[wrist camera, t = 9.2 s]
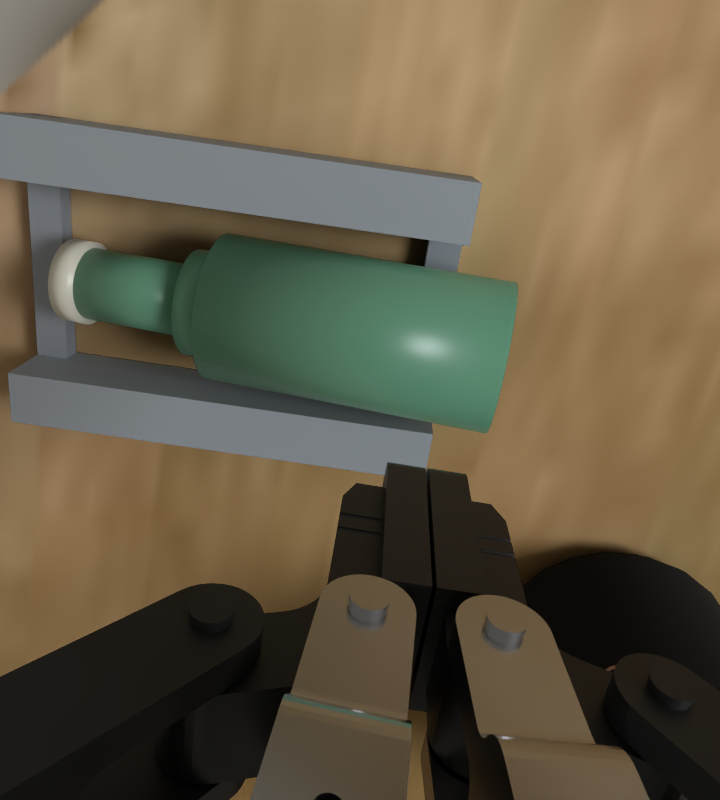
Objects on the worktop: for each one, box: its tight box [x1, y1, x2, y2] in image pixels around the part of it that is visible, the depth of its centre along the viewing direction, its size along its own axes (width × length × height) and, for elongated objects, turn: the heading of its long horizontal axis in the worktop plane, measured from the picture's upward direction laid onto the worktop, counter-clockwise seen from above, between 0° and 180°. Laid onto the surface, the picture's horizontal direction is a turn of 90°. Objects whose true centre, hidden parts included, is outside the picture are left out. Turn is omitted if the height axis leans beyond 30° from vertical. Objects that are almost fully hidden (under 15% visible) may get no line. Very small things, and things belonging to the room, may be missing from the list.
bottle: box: [48, 233, 518, 433], centre depth 23 cm, size 5×5×16 cm
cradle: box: [0, 112, 482, 475], centre depth 25 cm, size 16×11×3 cm
